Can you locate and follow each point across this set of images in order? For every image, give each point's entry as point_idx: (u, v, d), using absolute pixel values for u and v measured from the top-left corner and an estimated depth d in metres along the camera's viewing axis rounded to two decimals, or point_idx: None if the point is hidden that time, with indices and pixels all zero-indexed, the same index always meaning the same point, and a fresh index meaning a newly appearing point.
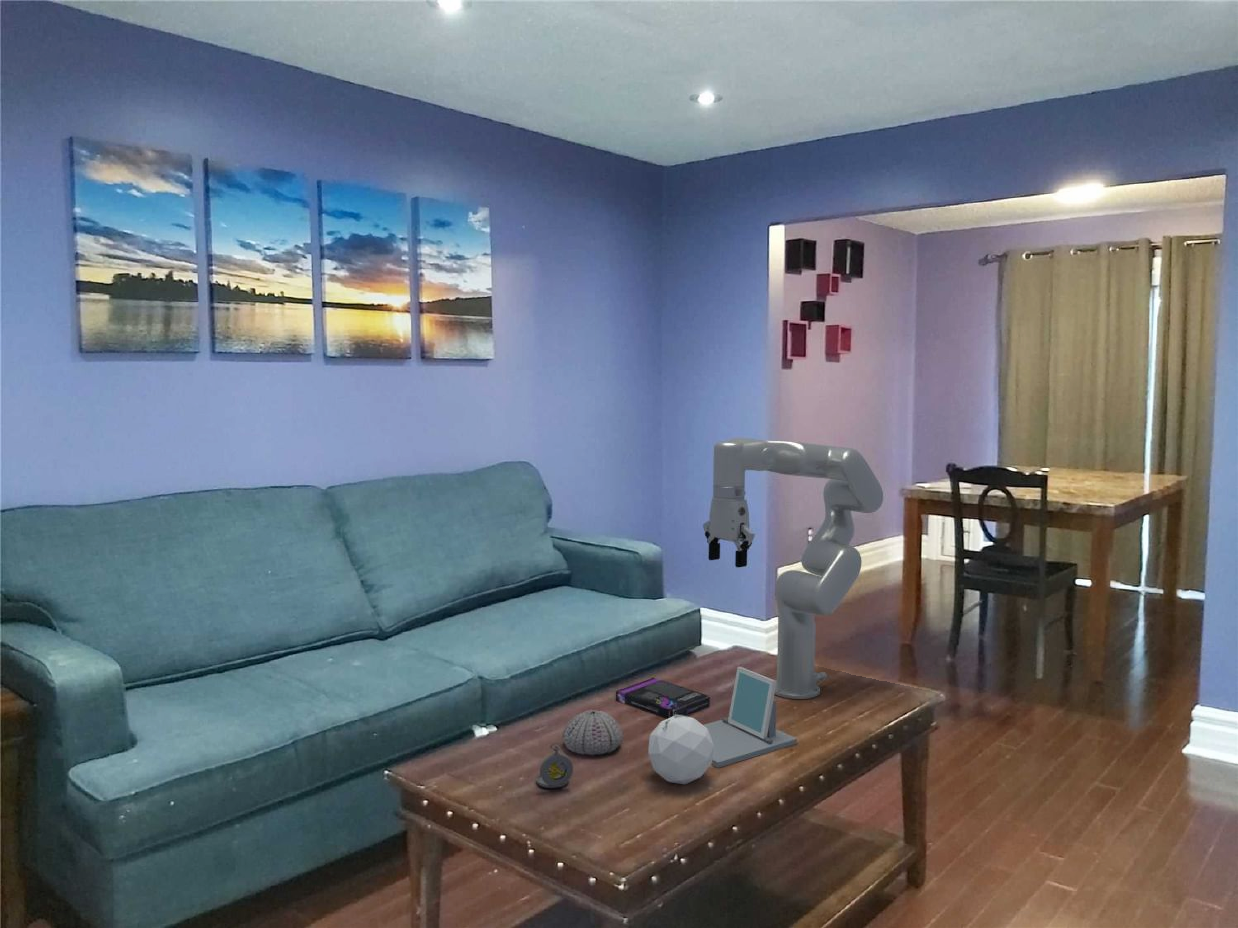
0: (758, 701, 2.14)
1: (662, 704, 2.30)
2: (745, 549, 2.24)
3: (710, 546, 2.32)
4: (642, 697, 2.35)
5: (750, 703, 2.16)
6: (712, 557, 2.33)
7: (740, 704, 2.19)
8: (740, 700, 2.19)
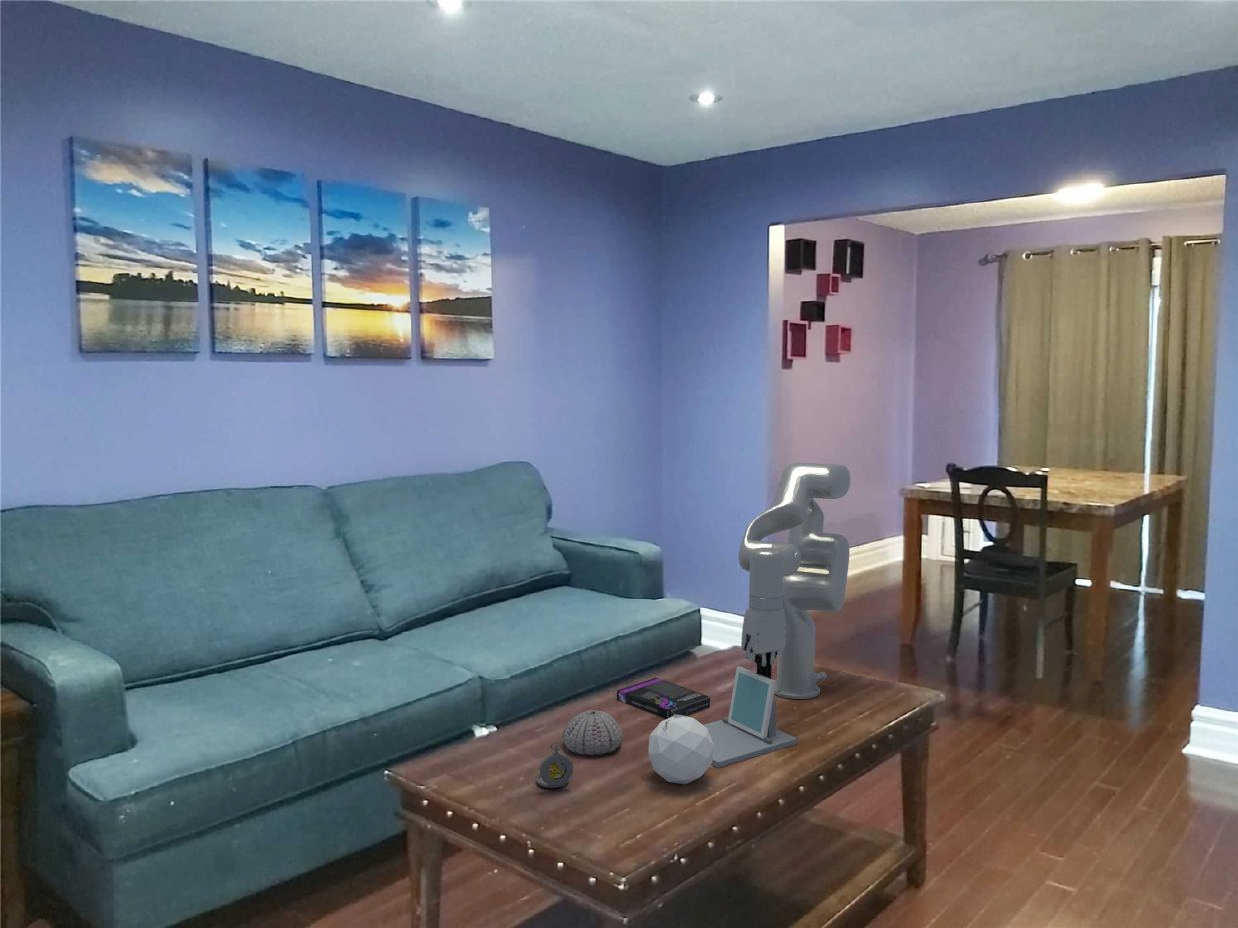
0: (757, 701, 2.14)
1: (661, 704, 2.30)
2: None
3: (767, 668, 2.16)
4: (642, 696, 2.35)
5: (750, 703, 2.16)
6: None
7: (739, 705, 2.19)
8: (740, 700, 2.19)
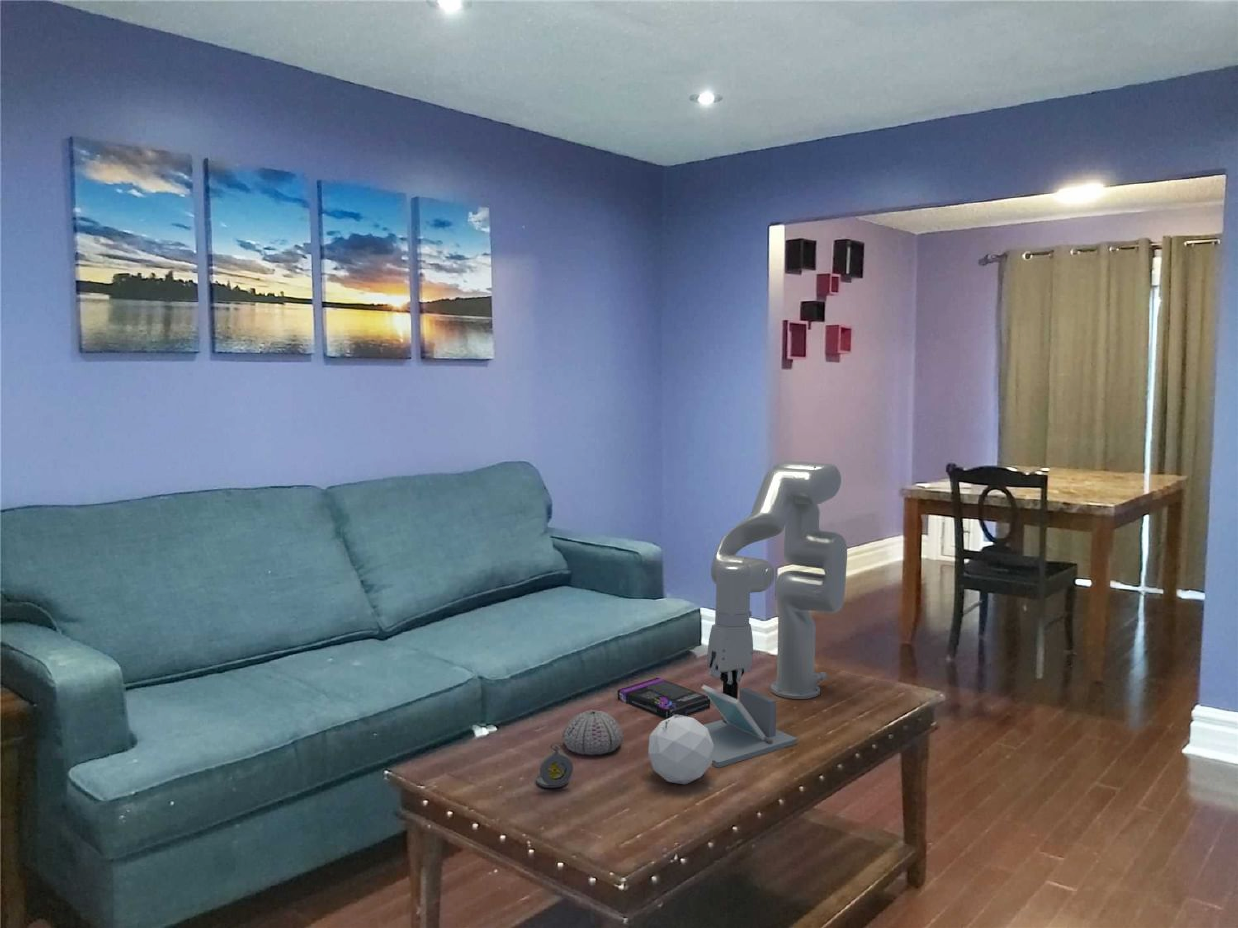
0: (737, 714, 2.11)
1: (660, 704, 2.30)
2: None
3: (733, 686, 2.11)
4: (642, 696, 2.35)
5: (733, 715, 2.13)
6: None
7: (726, 714, 2.17)
8: (724, 711, 2.16)
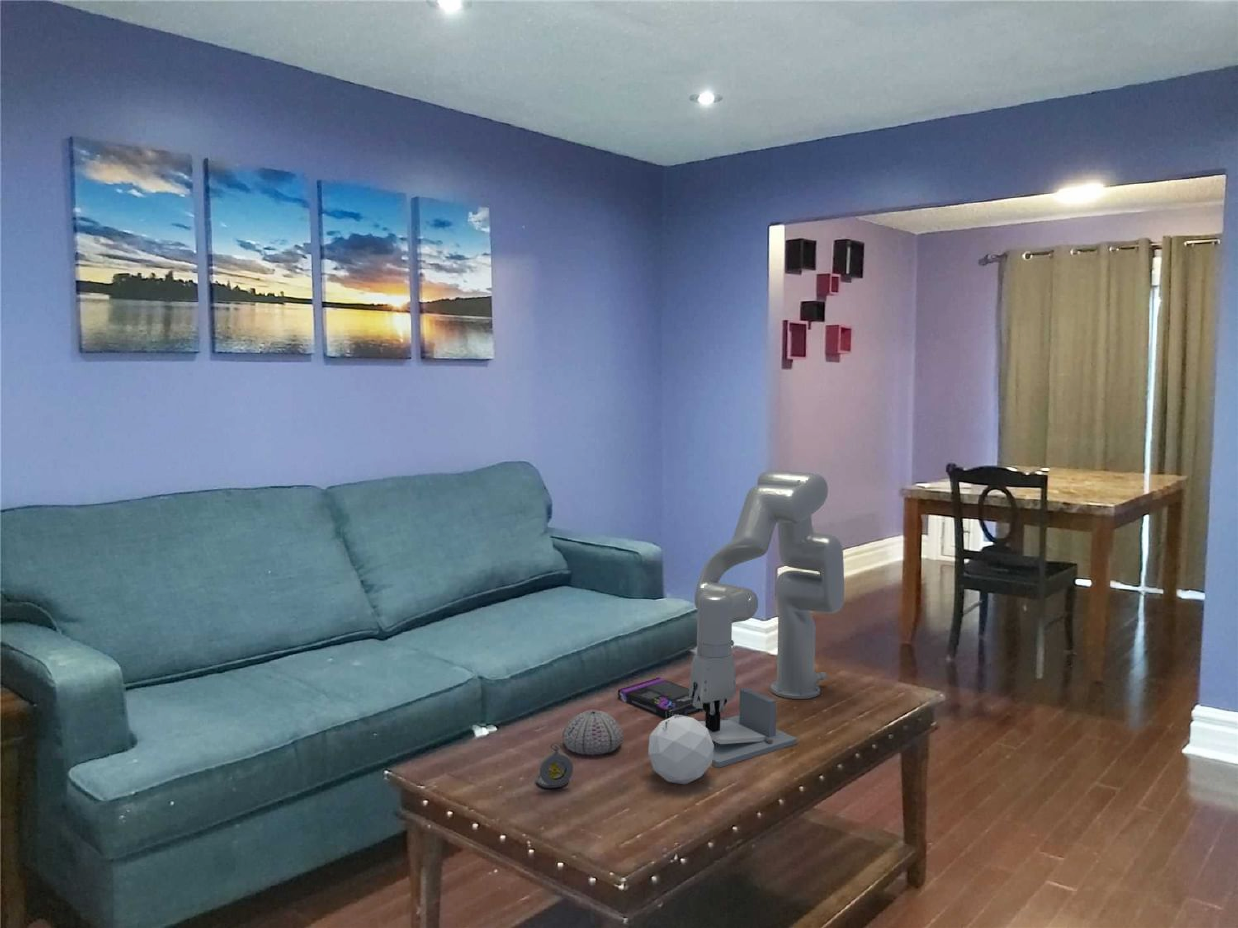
0: None
1: (660, 704, 2.30)
2: None
3: (716, 716, 2.09)
4: (643, 696, 2.35)
5: None
6: None
7: None
8: None
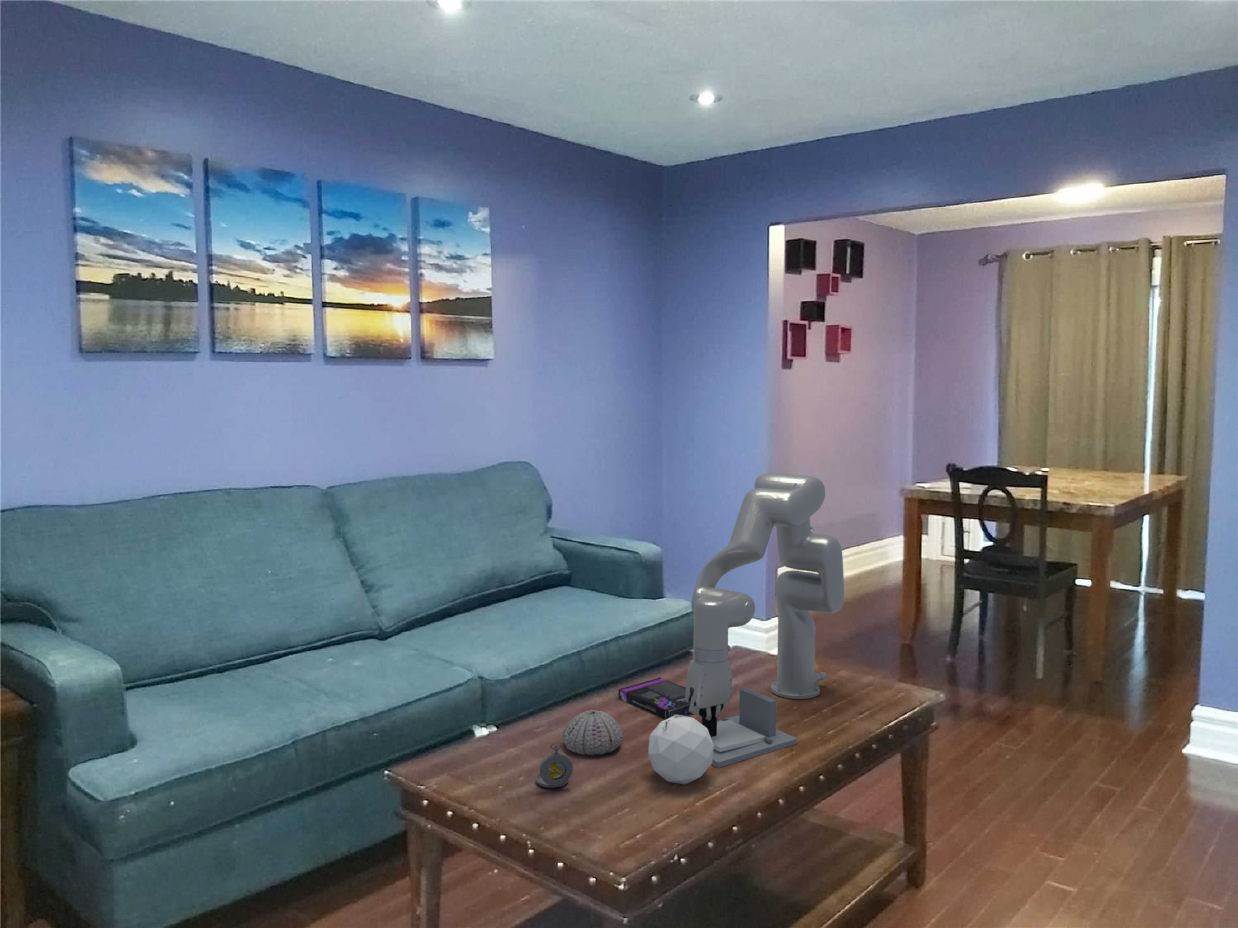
0: None
1: (660, 704, 2.30)
2: None
3: (712, 721, 2.08)
4: (643, 696, 2.35)
5: None
6: None
7: None
8: None
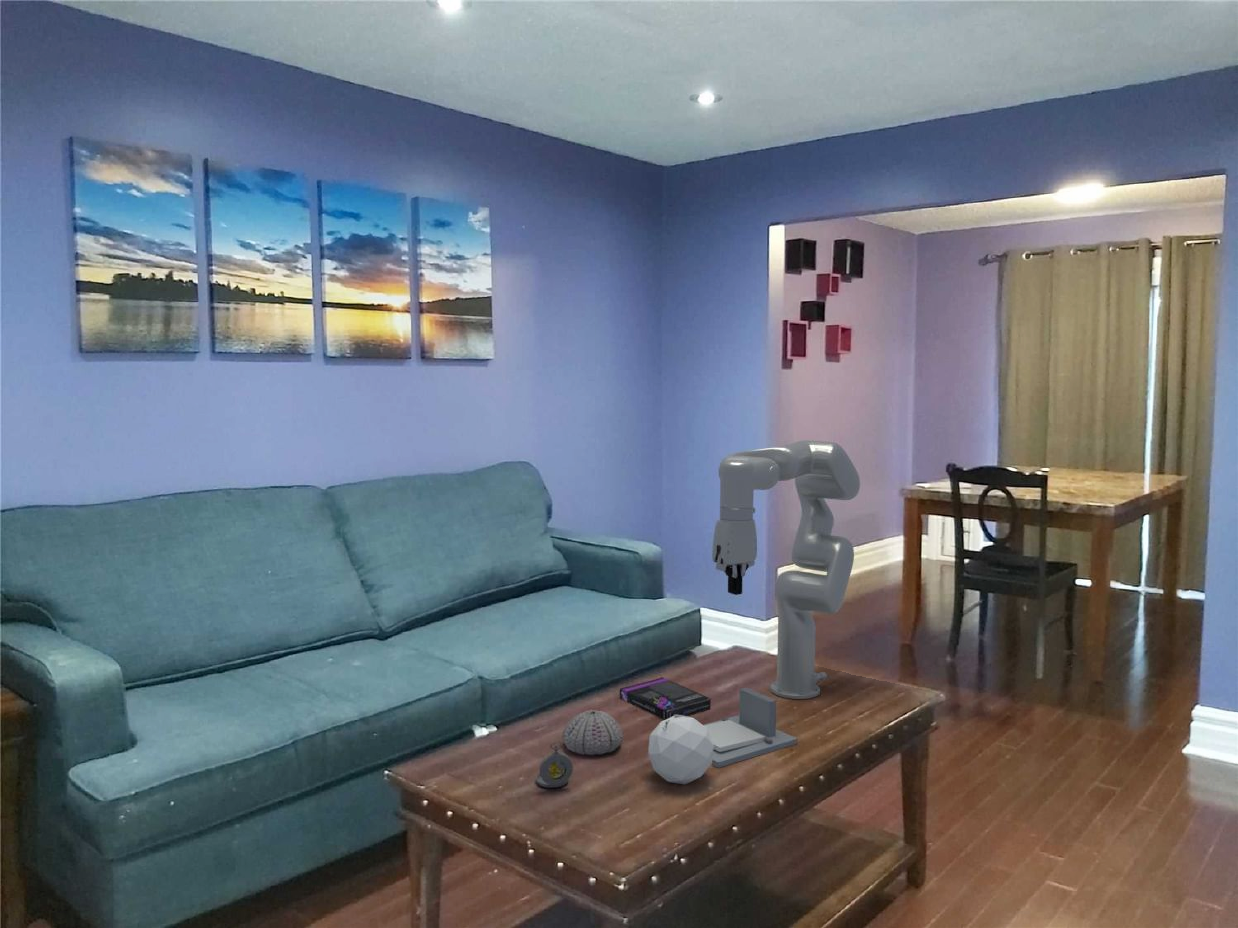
0: None
1: (659, 704, 2.30)
2: None
3: (738, 579, 2.17)
4: (643, 695, 2.35)
5: None
6: None
7: None
8: None
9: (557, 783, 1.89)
